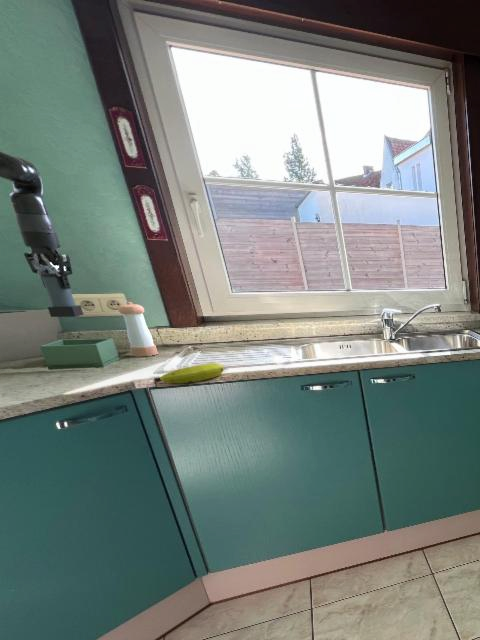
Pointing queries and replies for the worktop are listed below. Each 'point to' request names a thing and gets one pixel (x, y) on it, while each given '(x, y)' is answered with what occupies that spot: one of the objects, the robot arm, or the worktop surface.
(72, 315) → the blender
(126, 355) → the worktop surface
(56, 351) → the tote
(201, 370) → the banana
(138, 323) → the salt shaker
